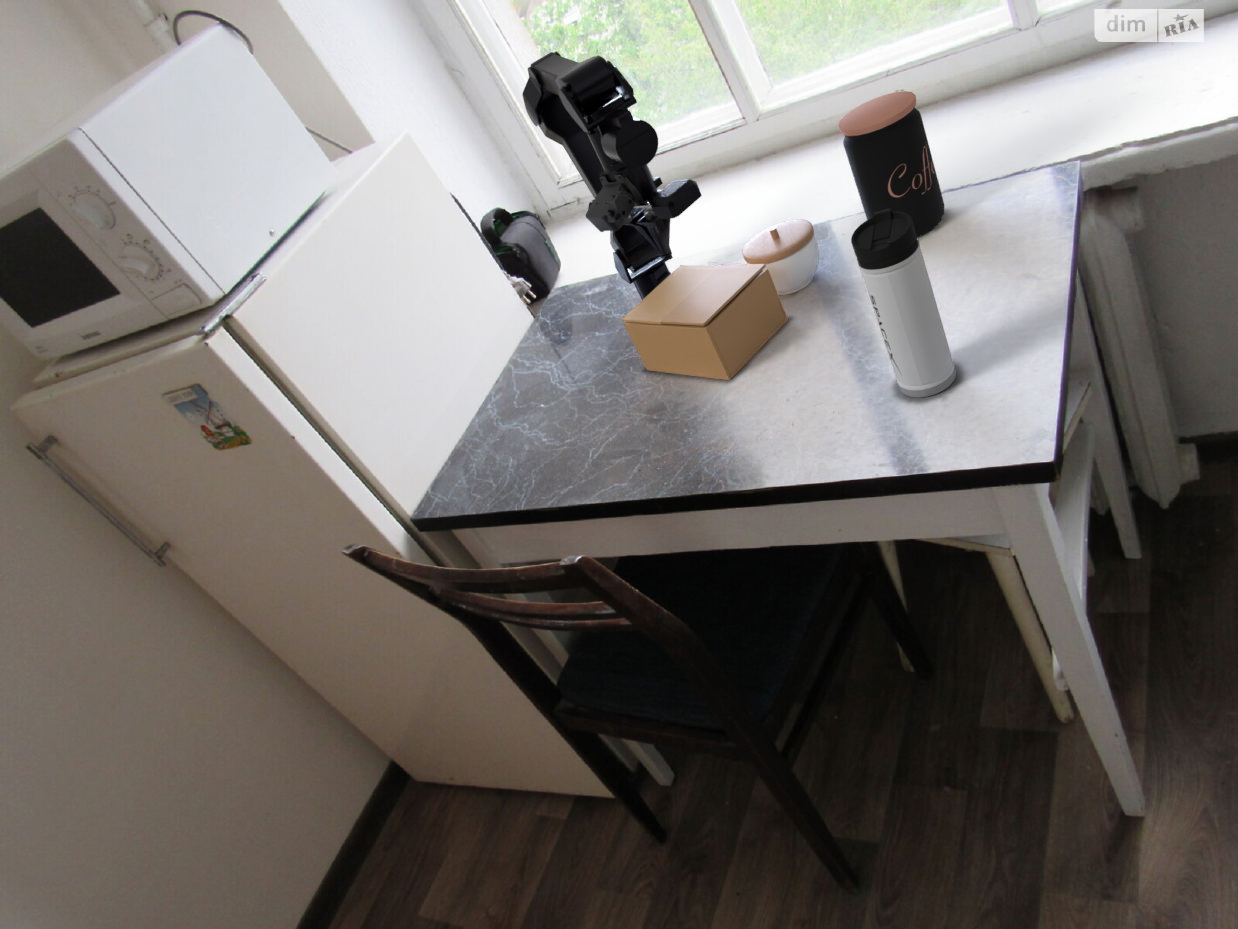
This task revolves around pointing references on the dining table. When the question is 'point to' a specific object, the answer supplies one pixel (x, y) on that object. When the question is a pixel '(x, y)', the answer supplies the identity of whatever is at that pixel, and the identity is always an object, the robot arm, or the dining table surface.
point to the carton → (714, 325)
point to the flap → (669, 294)
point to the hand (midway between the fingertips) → (665, 253)
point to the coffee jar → (893, 159)
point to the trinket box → (786, 254)
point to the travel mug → (904, 303)
